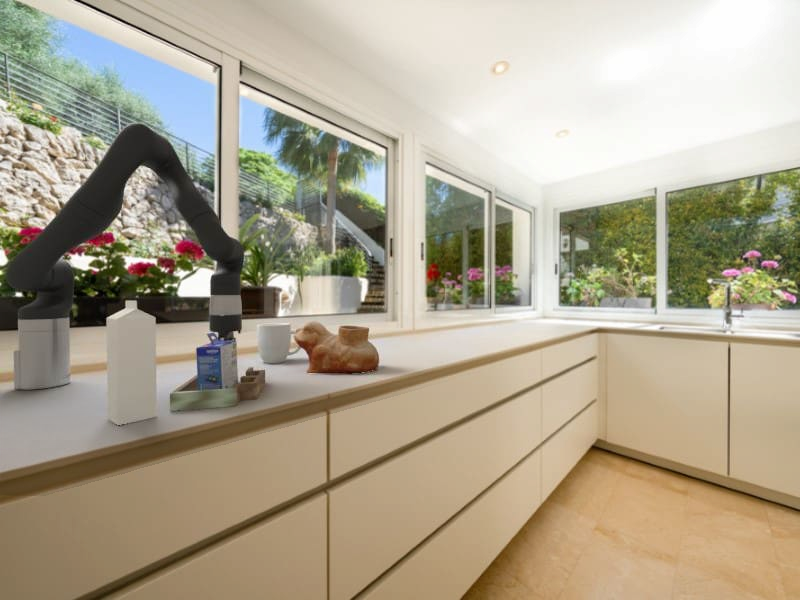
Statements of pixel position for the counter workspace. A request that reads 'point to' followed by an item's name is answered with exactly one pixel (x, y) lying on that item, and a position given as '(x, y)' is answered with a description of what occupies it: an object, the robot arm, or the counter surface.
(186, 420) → the counter surface
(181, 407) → the wooden compartment tray
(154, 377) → the milk
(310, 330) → the ceramic vessel
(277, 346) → the mug
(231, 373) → the ink cartridge box
